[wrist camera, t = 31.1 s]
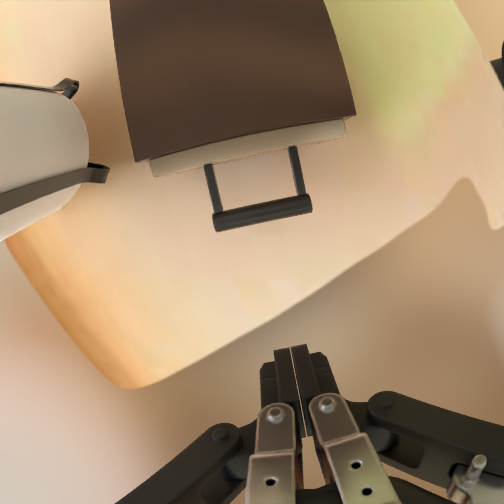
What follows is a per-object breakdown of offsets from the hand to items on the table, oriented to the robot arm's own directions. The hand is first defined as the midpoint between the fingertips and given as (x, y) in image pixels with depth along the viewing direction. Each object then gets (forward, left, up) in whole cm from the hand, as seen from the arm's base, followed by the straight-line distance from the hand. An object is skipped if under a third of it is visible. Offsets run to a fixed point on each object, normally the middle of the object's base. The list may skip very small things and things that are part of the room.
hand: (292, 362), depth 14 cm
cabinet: (0, -19, -16) cm, 25 cm away
